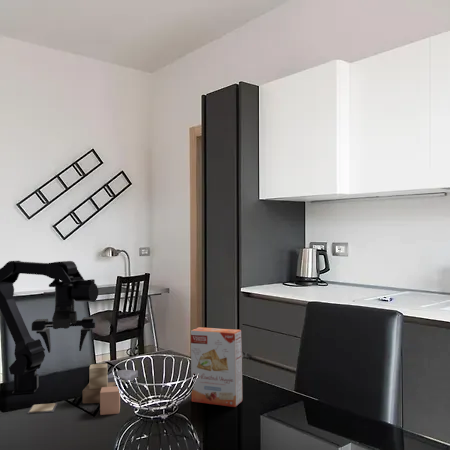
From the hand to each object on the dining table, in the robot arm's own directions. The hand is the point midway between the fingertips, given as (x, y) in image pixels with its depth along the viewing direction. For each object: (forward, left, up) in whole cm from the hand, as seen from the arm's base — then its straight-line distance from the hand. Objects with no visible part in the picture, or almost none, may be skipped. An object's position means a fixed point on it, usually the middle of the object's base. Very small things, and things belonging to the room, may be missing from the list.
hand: (64, 351), depth 150 cm
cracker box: (+45, -18, -13) cm, 50 cm away
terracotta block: (+15, -19, -13) cm, 28 cm away
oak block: (+11, -7, -9) cm, 16 cm away
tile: (-4, -13, -13) cm, 19 cm away
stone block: (+16, +8, -14) cm, 23 cm away
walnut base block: (+11, -7, -13) cm, 19 cm away
